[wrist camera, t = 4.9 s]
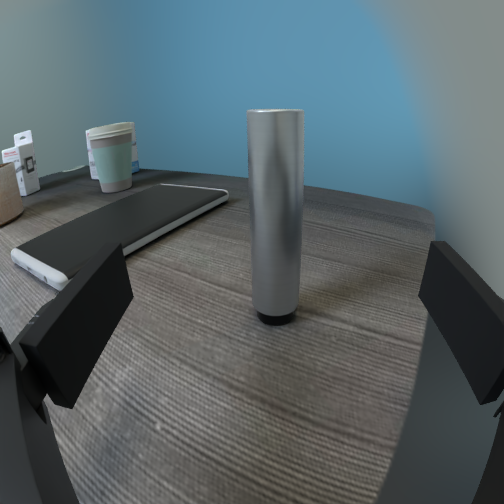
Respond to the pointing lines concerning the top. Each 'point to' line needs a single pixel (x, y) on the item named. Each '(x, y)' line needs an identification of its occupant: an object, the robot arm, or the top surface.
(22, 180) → the ink box
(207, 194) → the smartphone
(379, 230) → the top surface
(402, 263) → the top surface
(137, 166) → the ink box
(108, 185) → the coffee cup
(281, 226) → the grey metal rod
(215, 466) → the top surface
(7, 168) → the planter
